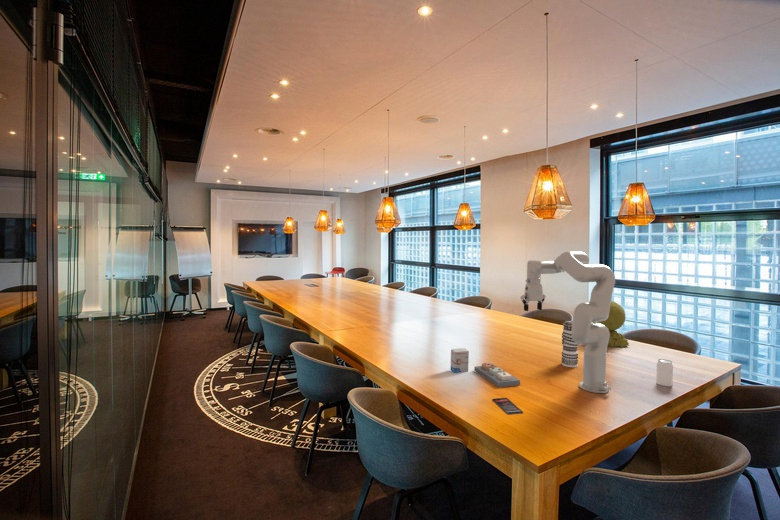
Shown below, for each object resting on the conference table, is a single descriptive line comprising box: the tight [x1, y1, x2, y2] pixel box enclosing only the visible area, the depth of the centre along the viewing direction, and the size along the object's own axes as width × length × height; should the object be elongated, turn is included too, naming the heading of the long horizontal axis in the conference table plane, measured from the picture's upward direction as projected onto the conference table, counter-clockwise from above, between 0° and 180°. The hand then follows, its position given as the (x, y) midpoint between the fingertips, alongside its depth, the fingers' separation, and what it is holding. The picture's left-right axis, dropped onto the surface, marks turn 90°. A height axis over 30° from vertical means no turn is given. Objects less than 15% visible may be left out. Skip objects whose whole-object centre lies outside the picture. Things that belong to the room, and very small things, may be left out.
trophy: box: [592, 300, 630, 348], centre depth 263 cm, size 22×22×30 cm
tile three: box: [481, 362, 497, 371], centre depth 203 cm, size 5×5×3 cm
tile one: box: [497, 371, 513, 381], centre depth 188 cm, size 5×5×3 cm
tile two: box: [489, 366, 504, 376], centre depth 195 cm, size 5×5×3 cm
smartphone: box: [491, 397, 524, 416], centre depth 162 cm, size 7×1×15 cm
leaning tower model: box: [561, 320, 579, 368], centre depth 216 cm, size 9×9×25 cm
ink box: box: [450, 347, 470, 374], centre depth 205 cm, size 8×5×12 cm, turn 105°
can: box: [655, 358, 674, 388], centre depth 187 cm, size 6×6×12 cm
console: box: [474, 365, 521, 388], centre depth 195 cm, size 24×12×2 cm, turn 16°
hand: (532, 310), depth 222 cm, fingers open, 9 cm apart
